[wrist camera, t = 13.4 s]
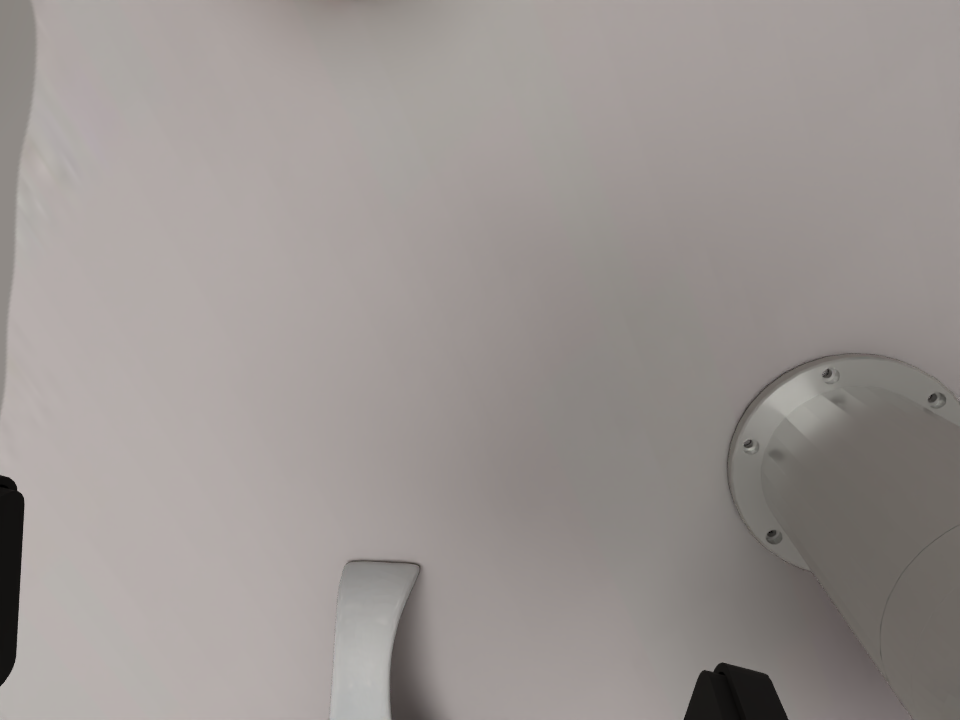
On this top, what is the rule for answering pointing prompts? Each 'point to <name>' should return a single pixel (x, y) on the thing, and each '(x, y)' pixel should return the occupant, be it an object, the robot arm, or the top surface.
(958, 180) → the top surface
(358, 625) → the spoon rest
